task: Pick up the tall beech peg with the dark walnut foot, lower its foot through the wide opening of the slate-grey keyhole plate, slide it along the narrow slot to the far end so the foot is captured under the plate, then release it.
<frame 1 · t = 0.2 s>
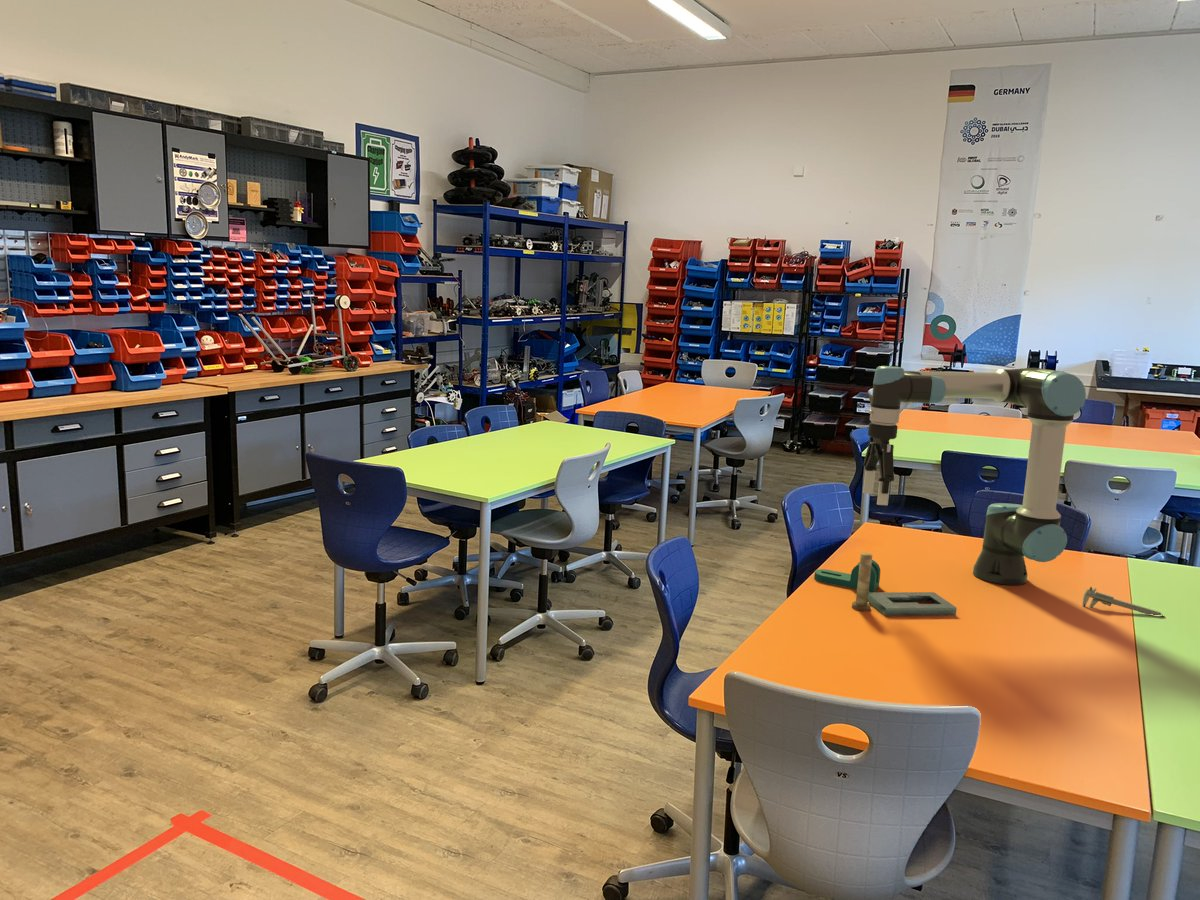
hand: (874, 499, 243), 28 cm above the table, fingers open, 13 cm apart
bracket: (844, 584, 256), on the table
keyhole plate: (909, 607, 238), on the table
peg: (861, 608, 236), on the table
caliper: (1123, 613, 243), on the table
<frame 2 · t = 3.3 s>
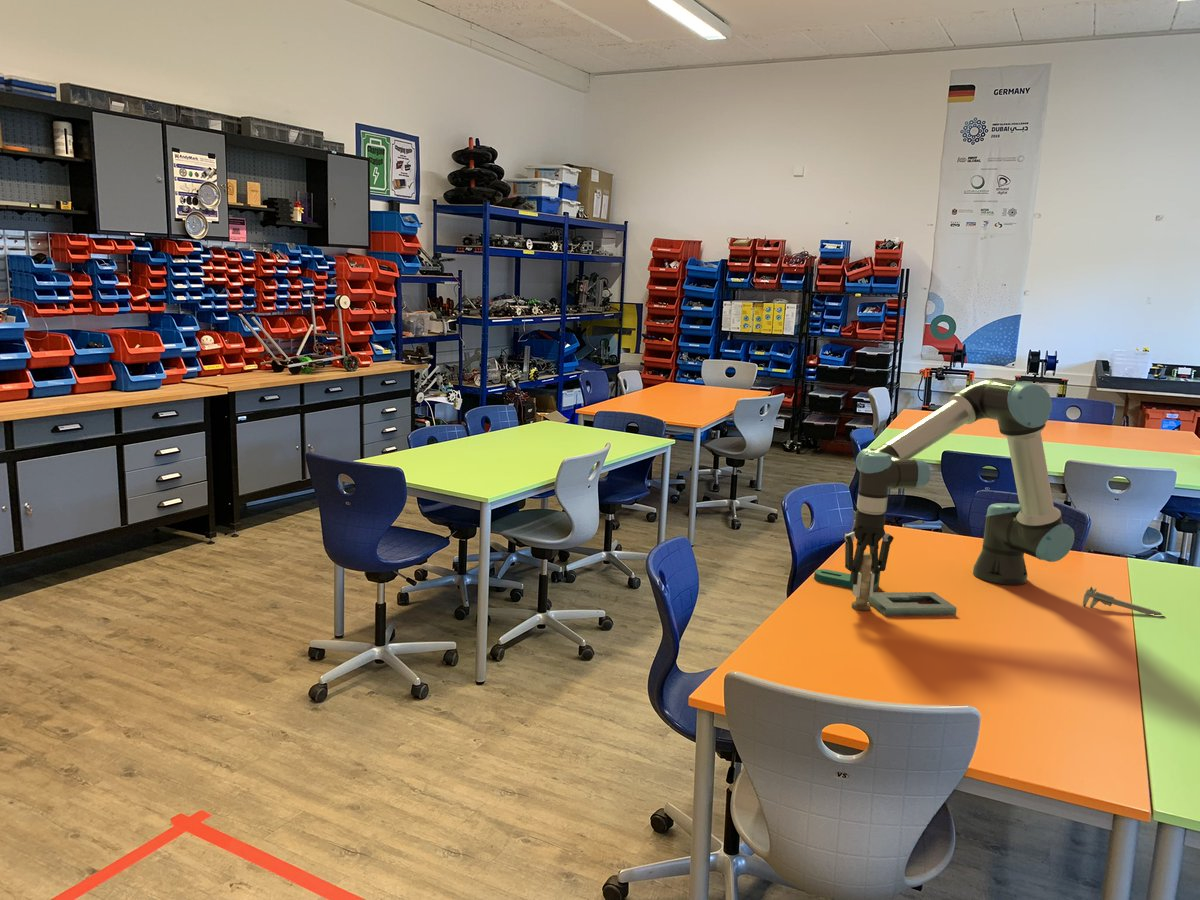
hand: (862, 595, 236), 4 cm above the table, fingers closed on peg, 3 cm apart
peg: (860, 607, 236), on the table, touching gripper
everything else where it was.
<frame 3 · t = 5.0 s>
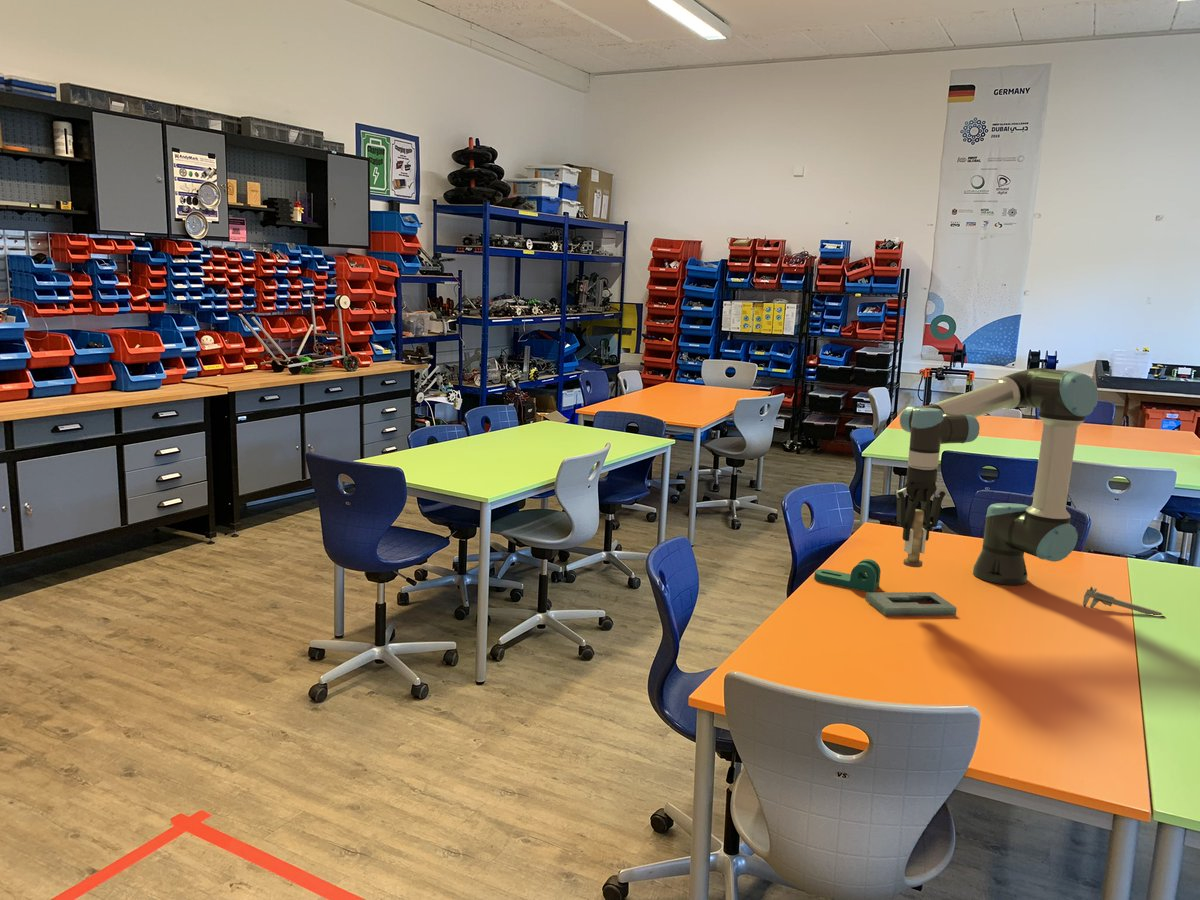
hand: (914, 551, 236), 16 cm above the table, fingers closed on peg, 3 cm apart
peg: (912, 564, 236), point 12 cm above the table, touching gripper
everything else where it was.
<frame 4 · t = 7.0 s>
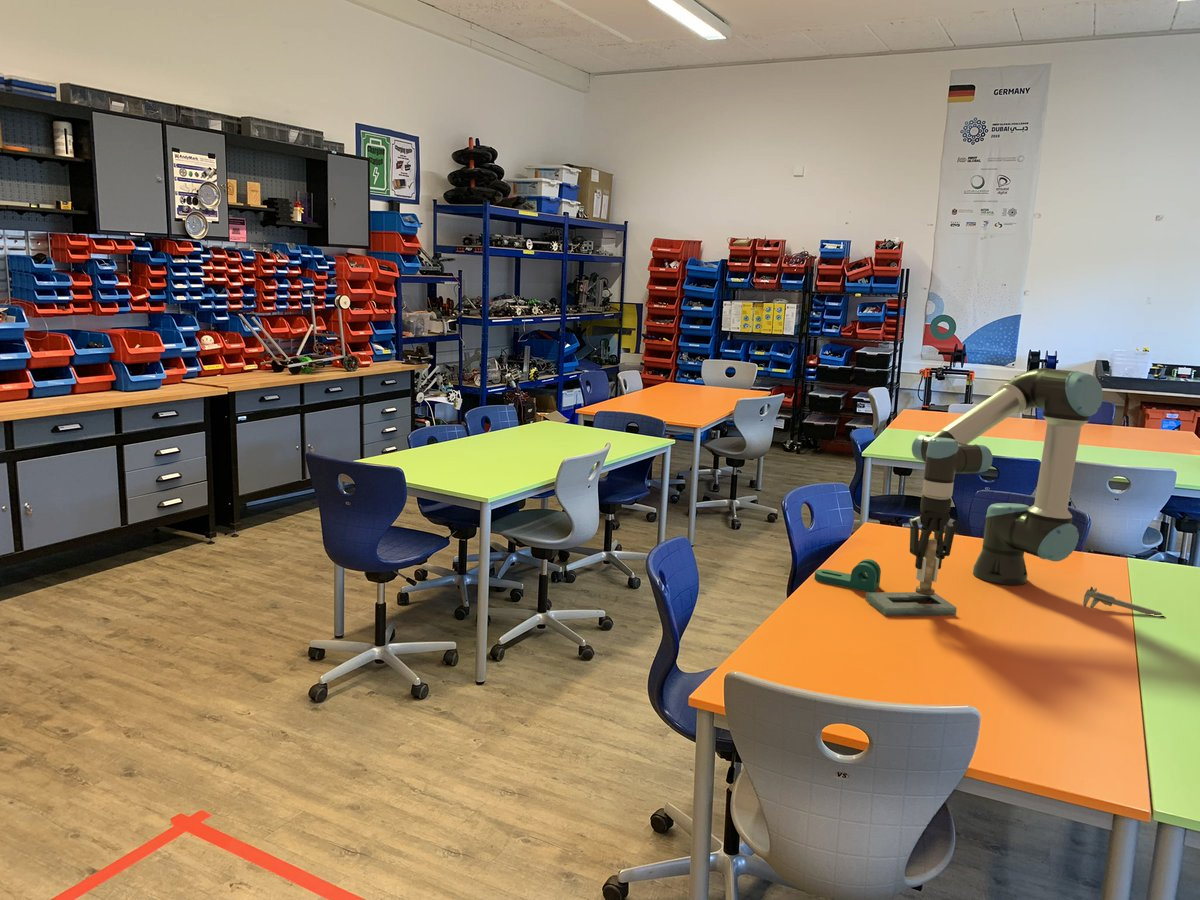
hand: (926, 580, 237), 8 cm above the table, fingers closed on peg, 3 cm apart
peg: (924, 592, 238), point 4 cm above the table, touching gripper
everything else where it was.
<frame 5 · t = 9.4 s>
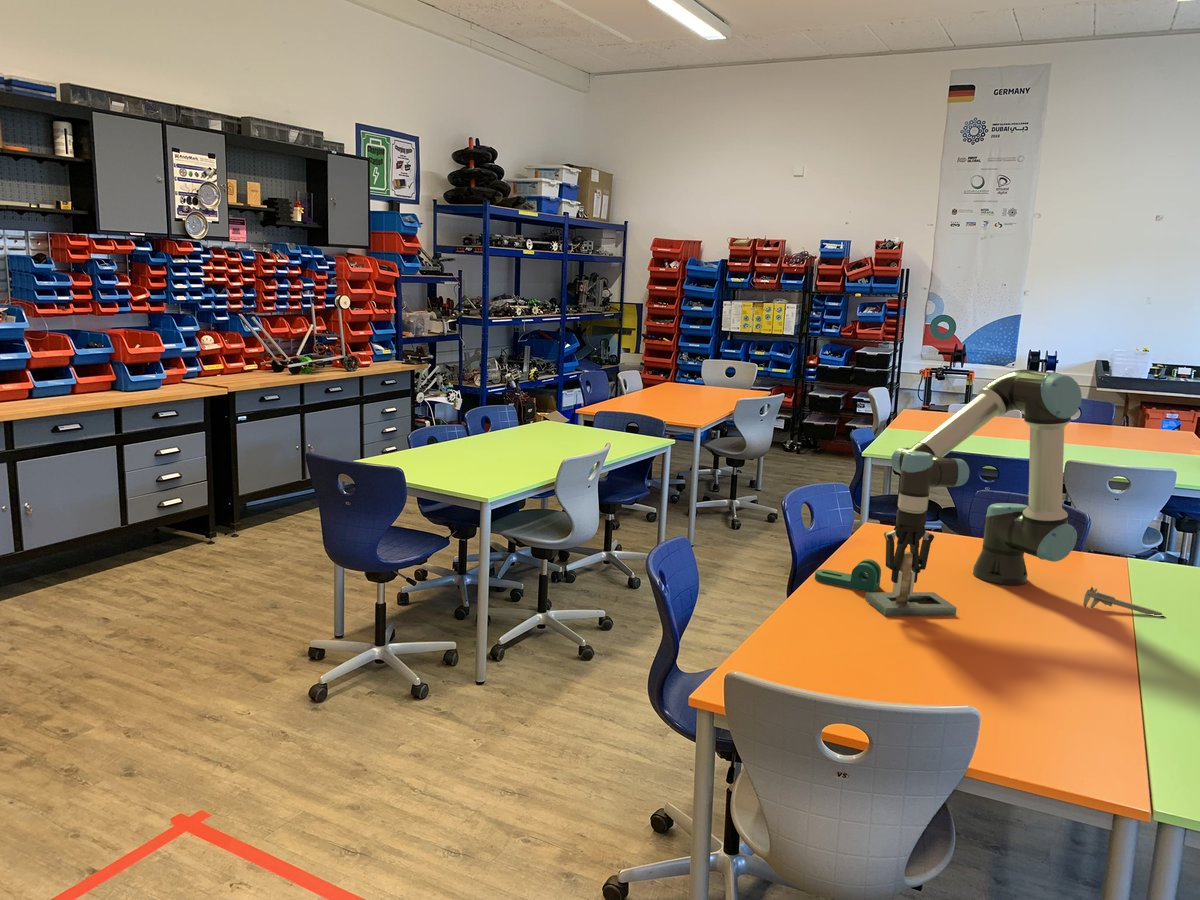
hand: (902, 593, 237), 4 cm above the table, fingers closed on peg, 3 cm apart
peg: (901, 606, 238), resting in keyhole plate, touching gripper
everything else where it was.
when the fingers open (4 cm above the table, at t = 10.7 s): peg stays where it is, resting in keyhole plate.
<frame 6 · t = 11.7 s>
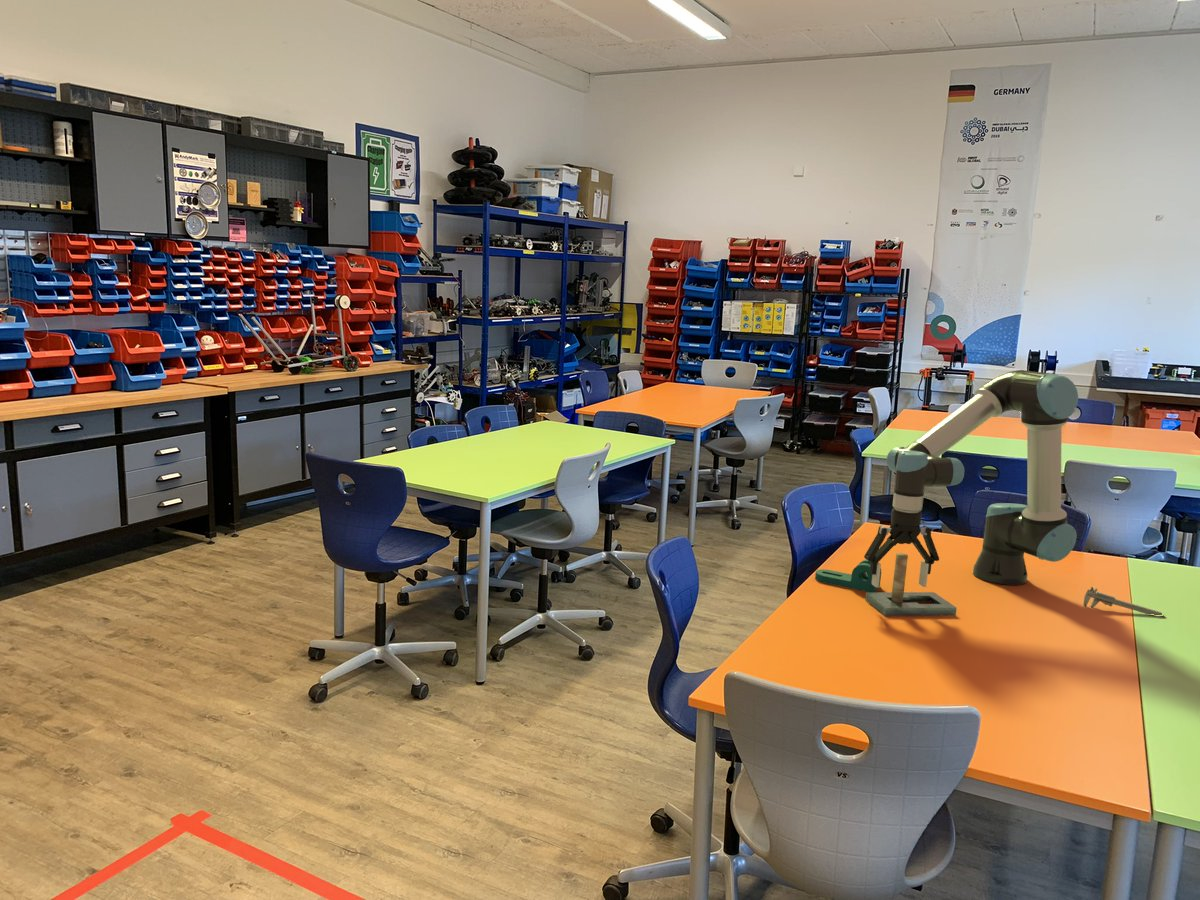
hand: (898, 585, 237), 6 cm above the table, fingers open, 13 cm apart
peg: (896, 607, 238), resting in keyhole plate
everything else where it was.
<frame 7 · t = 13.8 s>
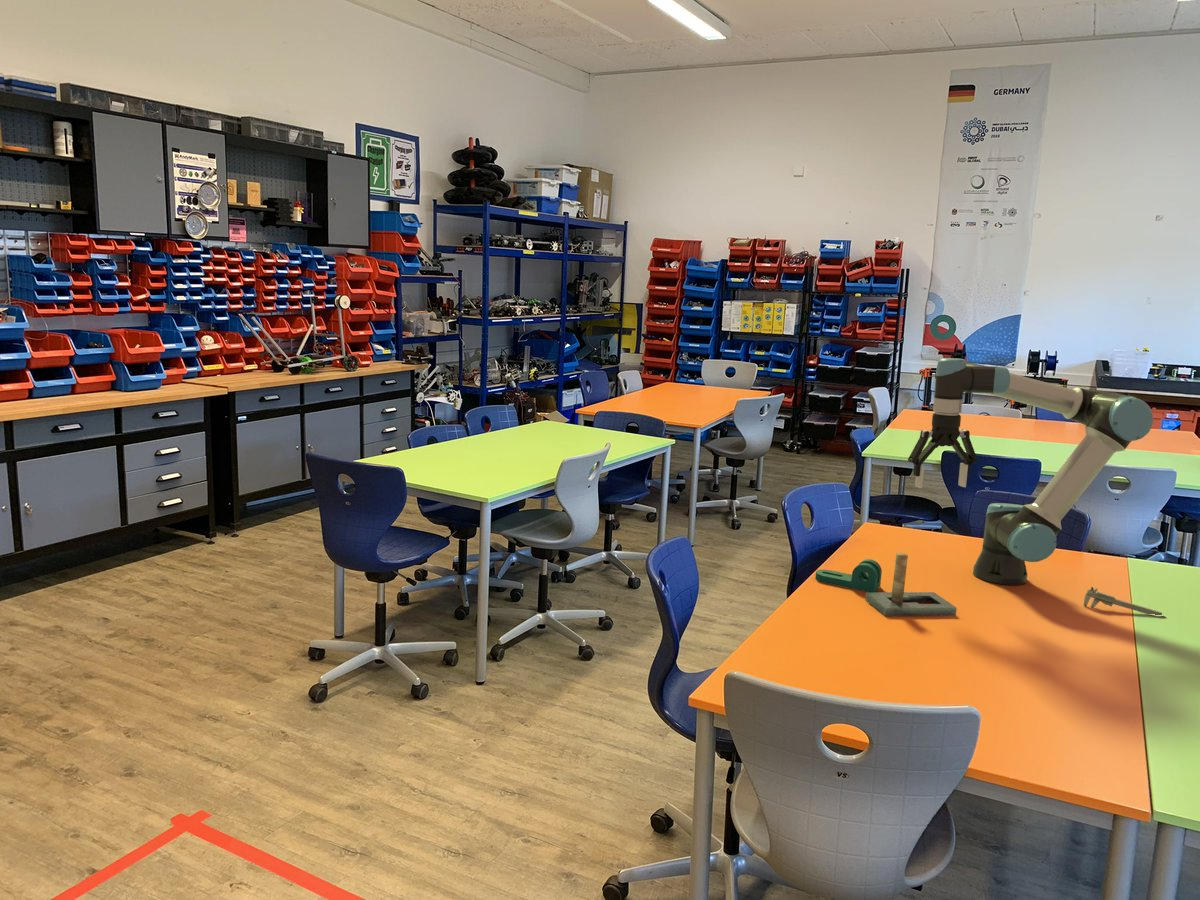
hand: (940, 486, 251), 30 cm above the table, fingers open, 13 cm apart
nothing on the table moved.
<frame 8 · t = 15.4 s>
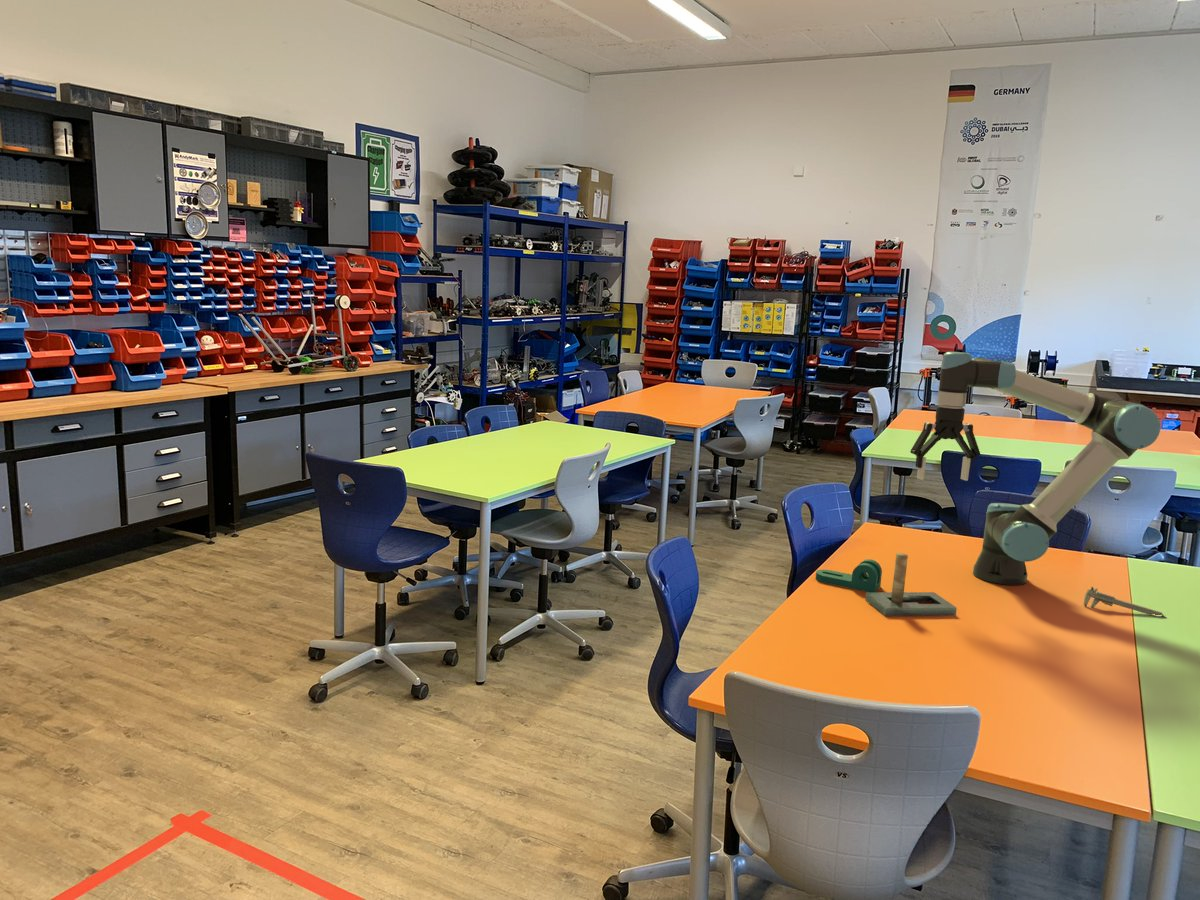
hand: (942, 479, 253), 32 cm above the table, fingers open, 13 cm apart
nothing on the table moved.
at the end: peg 0.1 cm from the target spot on the keyhole plate, point 0.0 cm above the keyhole plate's base; peg tilted 0°; the gripper is holding nothing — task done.
